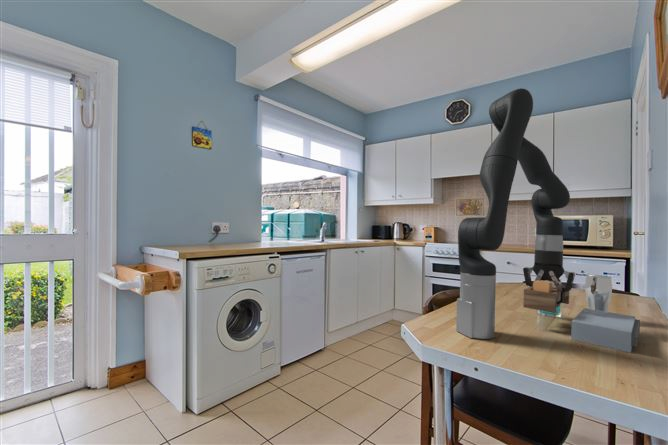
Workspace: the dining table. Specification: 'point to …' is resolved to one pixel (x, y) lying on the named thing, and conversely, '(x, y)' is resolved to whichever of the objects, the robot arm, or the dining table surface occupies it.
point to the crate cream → (552, 283)
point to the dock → (606, 329)
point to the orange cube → (542, 286)
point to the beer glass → (598, 292)
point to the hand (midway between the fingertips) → (547, 301)
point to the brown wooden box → (544, 299)
